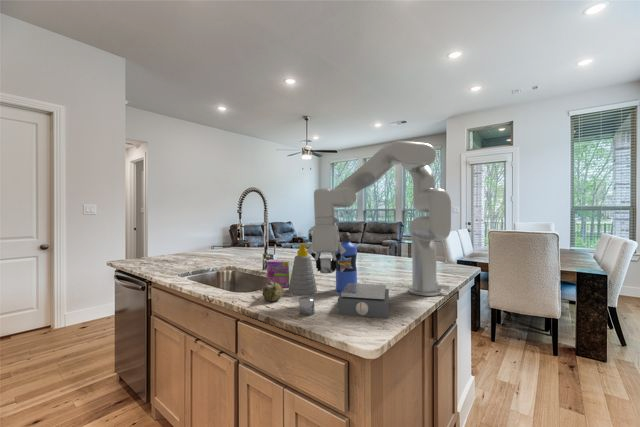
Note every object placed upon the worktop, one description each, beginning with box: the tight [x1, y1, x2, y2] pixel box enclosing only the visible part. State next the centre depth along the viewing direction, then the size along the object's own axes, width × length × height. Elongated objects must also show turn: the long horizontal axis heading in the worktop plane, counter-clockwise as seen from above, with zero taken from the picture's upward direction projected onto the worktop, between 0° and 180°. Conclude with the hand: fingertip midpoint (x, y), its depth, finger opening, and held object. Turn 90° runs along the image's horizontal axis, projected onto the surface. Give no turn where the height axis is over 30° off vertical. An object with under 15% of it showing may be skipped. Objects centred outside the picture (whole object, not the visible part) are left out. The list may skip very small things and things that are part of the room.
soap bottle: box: [287, 243, 318, 296], centre depth 123 cm, size 12×12×20 cm
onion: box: [262, 280, 284, 302], centre depth 110 cm, size 8×8×8 cm
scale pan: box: [340, 282, 387, 299], centre depth 100 cm, size 14×14×1 cm
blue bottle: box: [335, 231, 358, 294], centre depth 123 cm, size 9×9×25 cm
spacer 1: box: [298, 295, 315, 317], centre depth 95 cm, size 5×5×5 cm
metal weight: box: [319, 257, 335, 274], centre depth 107 cm, size 5×5×5 cm
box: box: [266, 259, 293, 289], centre depth 132 cm, size 10×6×12 cm, turn 80°
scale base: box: [337, 288, 390, 319], centre depth 100 cm, size 16×17×5 cm
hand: (326, 270), depth 107 cm, fingers closed on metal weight, 5 cm apart
